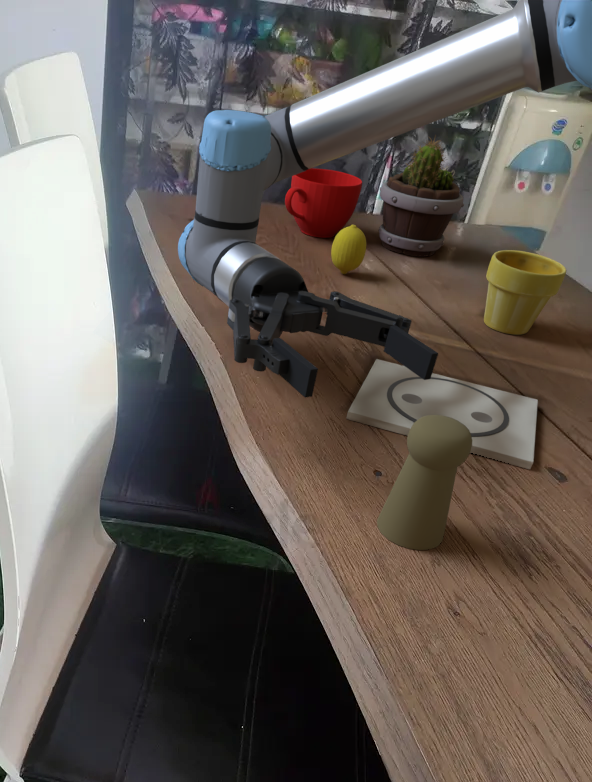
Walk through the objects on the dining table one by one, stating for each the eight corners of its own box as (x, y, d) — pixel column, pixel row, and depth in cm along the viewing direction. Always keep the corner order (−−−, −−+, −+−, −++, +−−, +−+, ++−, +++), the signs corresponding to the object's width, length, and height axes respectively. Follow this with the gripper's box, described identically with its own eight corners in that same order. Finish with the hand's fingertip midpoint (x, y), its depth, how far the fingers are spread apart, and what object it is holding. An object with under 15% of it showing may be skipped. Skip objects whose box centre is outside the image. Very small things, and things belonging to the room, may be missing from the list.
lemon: (323, 275, 121) (333, 225, 116) (331, 266, 125) (341, 217, 121) (356, 282, 120) (367, 232, 115) (363, 273, 124) (374, 224, 119)
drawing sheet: (535, 406, 90) (538, 398, 89) (530, 470, 77) (534, 460, 77) (374, 365, 94) (376, 357, 94) (346, 419, 82) (348, 410, 81)
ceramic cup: (255, 229, 138) (263, 172, 132) (313, 219, 148) (323, 165, 142) (307, 250, 131) (317, 191, 125) (364, 237, 141) (376, 182, 135)
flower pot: (547, 345, 106) (574, 278, 100) (475, 333, 107) (498, 266, 101) (534, 319, 114) (558, 256, 109) (467, 308, 115) (488, 245, 109)
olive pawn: (430, 559, 63) (470, 451, 57) (366, 531, 66) (397, 424, 59) (452, 526, 68) (491, 422, 61) (391, 500, 70) (422, 398, 63)
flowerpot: (381, 231, 146) (408, 119, 134) (457, 249, 141) (491, 135, 129) (356, 247, 136) (382, 127, 124) (436, 268, 131) (471, 144, 119)
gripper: (345, 313, 89) (463, 394, 74) (155, 331, 79) (249, 429, 64) (359, 250, 85) (488, 324, 70) (159, 261, 74) (261, 349, 60)
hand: (374, 374), depth 67 cm, fingers open, 13 cm apart
